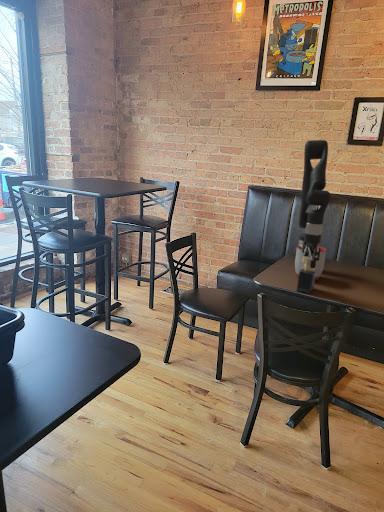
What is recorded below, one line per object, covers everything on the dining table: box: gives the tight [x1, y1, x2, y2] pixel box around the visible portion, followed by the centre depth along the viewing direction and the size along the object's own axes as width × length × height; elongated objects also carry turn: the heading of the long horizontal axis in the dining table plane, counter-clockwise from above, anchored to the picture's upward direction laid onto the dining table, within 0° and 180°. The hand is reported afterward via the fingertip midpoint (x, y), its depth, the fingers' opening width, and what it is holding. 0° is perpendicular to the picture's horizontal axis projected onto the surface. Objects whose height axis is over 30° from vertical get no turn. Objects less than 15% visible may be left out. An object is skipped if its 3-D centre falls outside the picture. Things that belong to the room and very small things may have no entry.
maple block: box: [301, 257, 317, 271], centre depth 174 cm, size 5×5×6 cm
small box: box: [296, 269, 317, 295], centre depth 176 cm, size 11×6×10 cm, turn 150°
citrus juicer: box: [294, 244, 327, 281], centre depth 195 cm, size 16×17×20 cm
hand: (308, 265), depth 174 cm, fingers open, 8 cm apart
